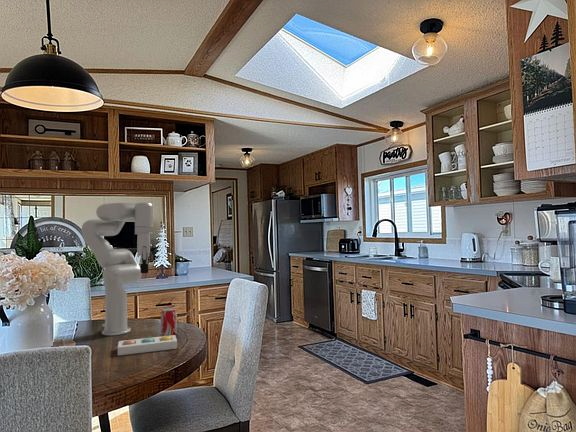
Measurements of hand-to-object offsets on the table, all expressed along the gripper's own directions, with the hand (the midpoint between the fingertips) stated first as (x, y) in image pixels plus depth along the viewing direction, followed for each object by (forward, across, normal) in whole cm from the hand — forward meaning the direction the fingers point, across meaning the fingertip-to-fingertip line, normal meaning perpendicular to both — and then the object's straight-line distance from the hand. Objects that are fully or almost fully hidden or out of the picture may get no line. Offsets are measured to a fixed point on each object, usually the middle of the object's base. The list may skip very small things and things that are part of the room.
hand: (144, 272), depth 175 cm
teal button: (+28, +14, +1) cm, 32 cm away
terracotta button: (+28, +14, -6) cm, 32 cm away
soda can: (+29, -3, +10) cm, 31 cm away
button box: (+29, +14, +1) cm, 32 cm away
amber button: (+28, +14, +8) cm, 32 cm away
